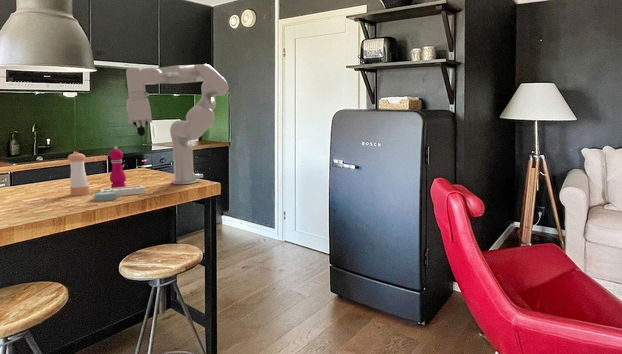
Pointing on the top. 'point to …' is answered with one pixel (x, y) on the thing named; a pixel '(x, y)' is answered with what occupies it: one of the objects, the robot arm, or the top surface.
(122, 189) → the ticket
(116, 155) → the pepper mill
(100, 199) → the stub
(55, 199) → the top surface
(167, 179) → the top surface
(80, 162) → the pepper shaker
